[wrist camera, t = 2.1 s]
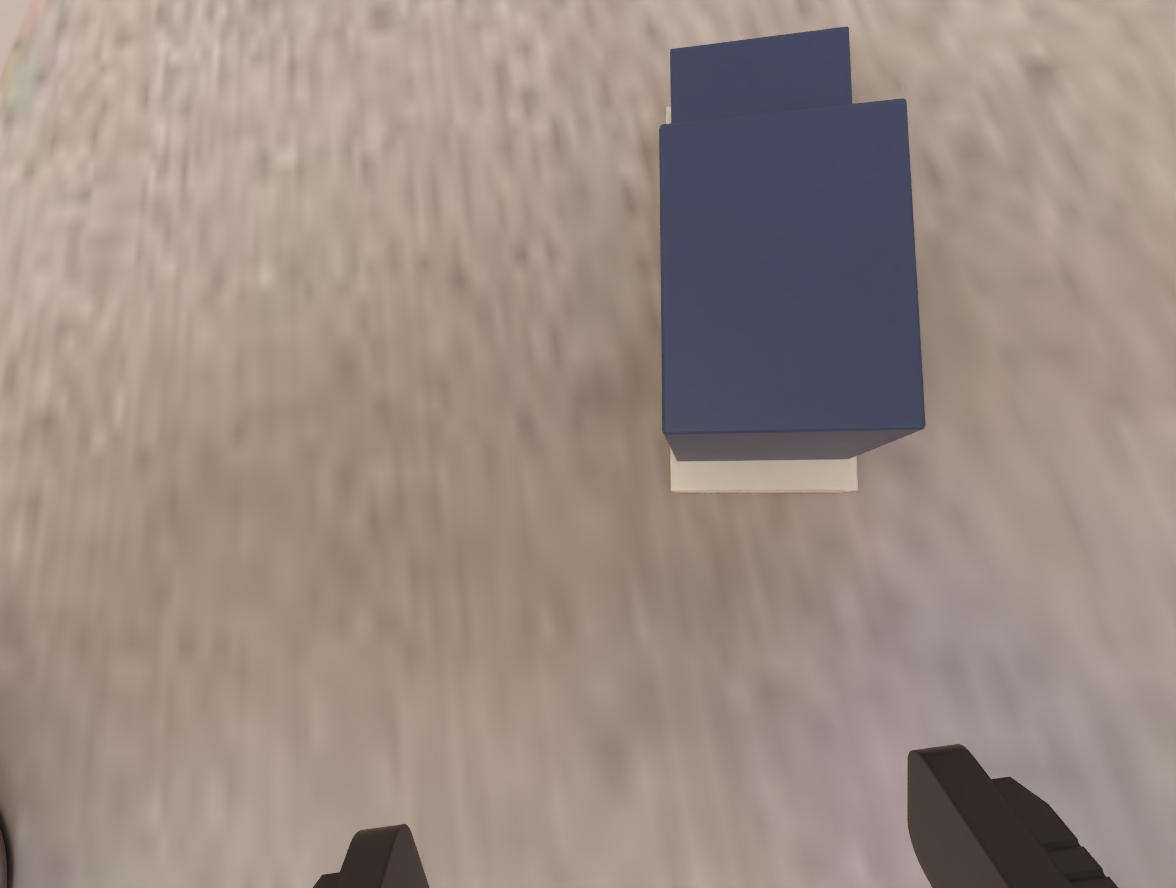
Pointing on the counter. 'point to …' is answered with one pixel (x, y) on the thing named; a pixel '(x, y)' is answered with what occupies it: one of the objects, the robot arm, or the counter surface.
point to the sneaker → (784, 269)
